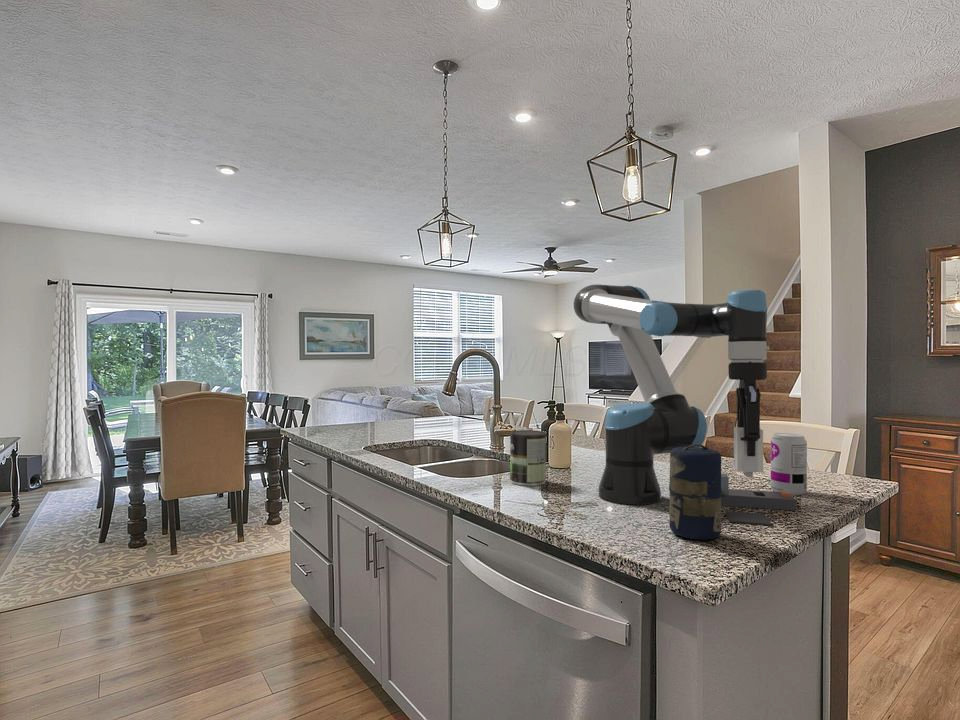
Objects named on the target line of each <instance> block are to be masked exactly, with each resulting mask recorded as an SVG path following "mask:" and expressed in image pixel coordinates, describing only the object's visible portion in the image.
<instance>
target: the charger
mask: <svg viewBox="0 0 960 720" xmlns="http://www.w3.org/2000/svg"><path fill="white" fill-rule="evenodd" d="M741 437H744V427H737V426H734V427H733V468H734V469H735V471H736V472H742V473H743V475H744V476H745V477H746V478H753V477H754V472H750V471H743V441H741V439H740V438H741ZM757 473H759V474H760V473H761V474H763V473H764V430H763V429H761V428H760V439H758V472H757Z"/></svg>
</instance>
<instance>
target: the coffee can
mask: <svg viewBox="0 0 960 720" xmlns="http://www.w3.org/2000/svg"><path fill="white" fill-rule="evenodd" d="M509 436H510V437H509V438H510V439H509V444H510V445H509V448H510V450H509V453H510V454H509V456H510V457H509V462H510V463H509V483H510V484H513V485H517V486H522V487H523V486H524V487H536V486H542V485H545V484H546V482H547V481H546V449H547V447H546V442H547V441H546V439H547V432H545V431H542V430H535V429H534V430H533V429H528V430H527V429H525V430H524V429H523V430H522V429H520V430H512V431H510V432H509Z"/></svg>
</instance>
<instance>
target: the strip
mask: <svg viewBox="0 0 960 720" xmlns="http://www.w3.org/2000/svg"><path fill="white" fill-rule="evenodd" d="M729 483H730V477H729V475H728V474H727V473H721V506H727V507H738V506H742V508H753V509H766V510H767V509H768V510H769V509H770V510H782V511H783V510H784V511H795V510H796V511H797V499H796V498H795V497H794V495H791V494H790V493H789V492H786V491H780V492H775V491H769V490H768V491H767V490H765V491H764V490H754V489H753V490H752V489H751V490H750V489H736V488H735V489H734V488H730V486H729V485H730V484H729Z"/></svg>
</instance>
